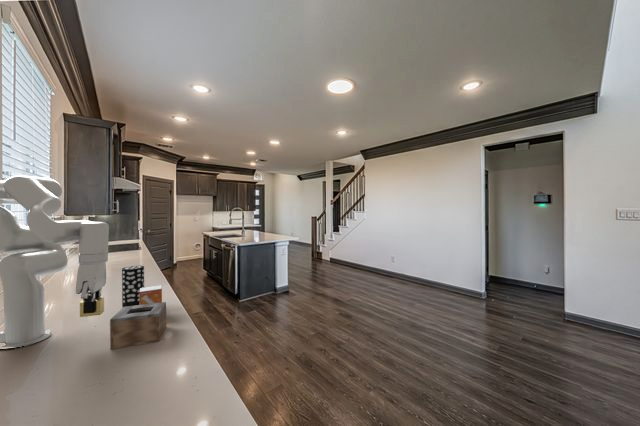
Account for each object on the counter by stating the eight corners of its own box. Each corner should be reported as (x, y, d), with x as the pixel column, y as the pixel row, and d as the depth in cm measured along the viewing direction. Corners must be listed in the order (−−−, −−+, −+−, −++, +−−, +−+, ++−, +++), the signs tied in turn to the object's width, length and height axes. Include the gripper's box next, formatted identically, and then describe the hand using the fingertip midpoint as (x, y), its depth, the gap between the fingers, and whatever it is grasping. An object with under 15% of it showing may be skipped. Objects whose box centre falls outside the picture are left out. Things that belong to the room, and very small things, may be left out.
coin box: (110, 349, 84) (110, 319, 84) (123, 333, 96) (123, 306, 95) (158, 341, 89) (158, 313, 89) (166, 326, 101) (166, 301, 100)
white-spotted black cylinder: (118, 312, 115) (117, 268, 115) (137, 305, 123) (136, 265, 123) (129, 315, 112) (129, 270, 112) (148, 308, 120) (148, 266, 120)
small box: (139, 323, 104) (138, 291, 104) (140, 317, 109) (139, 287, 109) (162, 318, 109) (162, 288, 108) (162, 313, 114) (161, 284, 114)
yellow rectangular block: (79, 317, 85) (79, 302, 84) (84, 313, 87) (84, 299, 87) (100, 314, 87) (100, 300, 86) (104, 311, 89) (104, 297, 89)
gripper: (91, 253, 93) (90, 303, 93) (65, 263, 78) (63, 322, 78) (116, 253, 96) (114, 301, 96) (96, 262, 80) (94, 319, 81)
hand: (92, 310), depth 87 cm, fingers closed on yellow rectangular block, 2 cm apart
